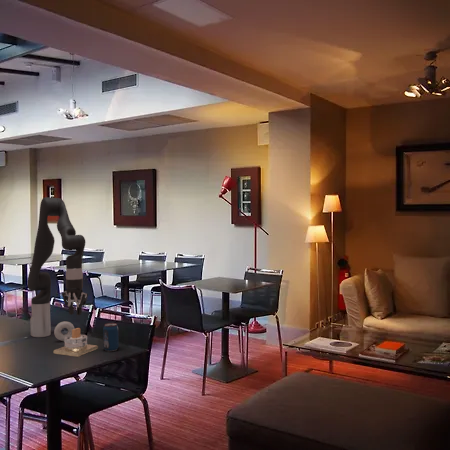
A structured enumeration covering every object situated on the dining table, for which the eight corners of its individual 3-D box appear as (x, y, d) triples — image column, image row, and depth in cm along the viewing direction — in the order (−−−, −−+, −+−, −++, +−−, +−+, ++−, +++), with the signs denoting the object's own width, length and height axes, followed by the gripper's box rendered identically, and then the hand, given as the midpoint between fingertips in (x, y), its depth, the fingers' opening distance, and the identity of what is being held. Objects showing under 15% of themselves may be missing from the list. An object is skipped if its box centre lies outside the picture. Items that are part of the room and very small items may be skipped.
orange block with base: (66, 341, 236) (66, 329, 236) (75, 338, 242) (75, 326, 242) (77, 342, 234) (77, 330, 234) (85, 339, 239) (85, 327, 239)
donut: (54, 343, 254) (54, 323, 253) (54, 341, 257) (53, 321, 257) (75, 340, 258) (75, 321, 257) (74, 339, 261) (74, 319, 261)
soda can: (119, 347, 243) (119, 322, 243) (117, 351, 236) (116, 325, 236) (105, 347, 243) (104, 322, 243) (102, 351, 236) (101, 326, 236)
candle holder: (53, 353, 235) (53, 339, 234) (74, 346, 247) (73, 332, 247) (78, 356, 229) (77, 342, 229) (97, 348, 242) (97, 335, 242)
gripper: (91, 277, 238) (92, 314, 238) (67, 276, 243) (68, 312, 244) (81, 279, 231) (82, 317, 231) (56, 278, 237) (57, 315, 237)
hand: (75, 314), depth 238 cm, fingers open, 3 cm apart
